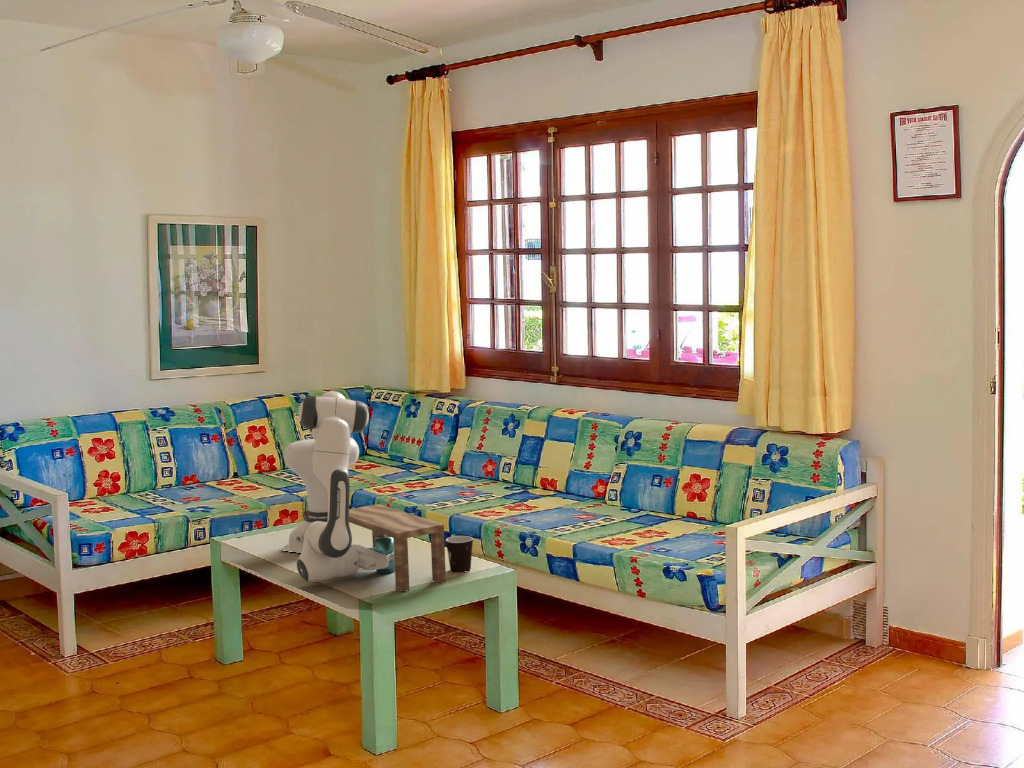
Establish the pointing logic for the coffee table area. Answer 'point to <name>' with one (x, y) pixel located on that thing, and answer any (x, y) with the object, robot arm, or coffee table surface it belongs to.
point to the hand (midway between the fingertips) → (386, 552)
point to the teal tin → (385, 552)
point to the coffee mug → (459, 553)
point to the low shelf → (403, 538)
